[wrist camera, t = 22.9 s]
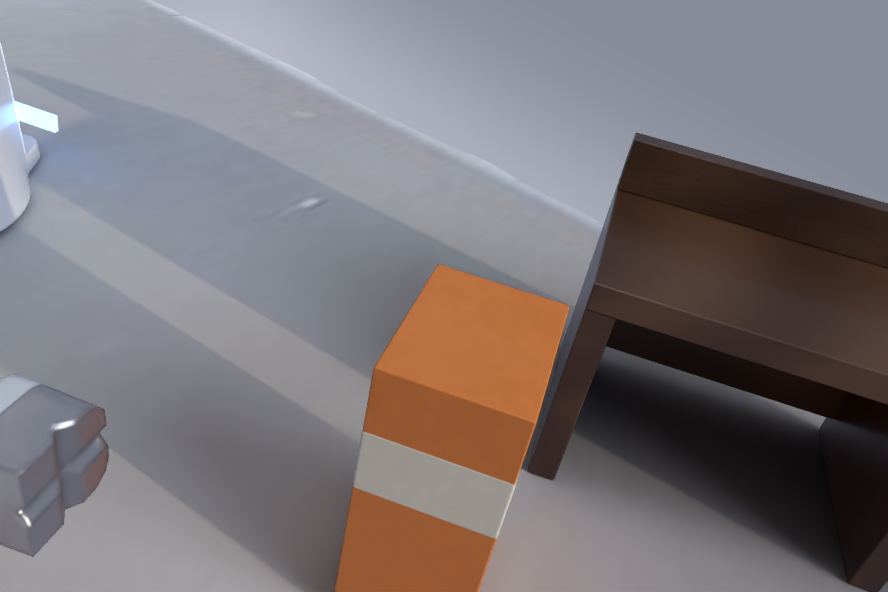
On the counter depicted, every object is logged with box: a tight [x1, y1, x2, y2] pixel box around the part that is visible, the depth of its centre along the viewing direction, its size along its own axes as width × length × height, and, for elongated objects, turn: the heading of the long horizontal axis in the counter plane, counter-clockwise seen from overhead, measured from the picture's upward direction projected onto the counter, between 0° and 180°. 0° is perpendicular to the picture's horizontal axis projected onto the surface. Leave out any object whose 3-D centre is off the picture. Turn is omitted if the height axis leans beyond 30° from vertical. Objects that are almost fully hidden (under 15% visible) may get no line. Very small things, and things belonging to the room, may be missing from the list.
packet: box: [334, 264, 569, 592], centre depth 26 cm, size 4×6×11 cm
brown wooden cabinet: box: [528, 133, 888, 592], centre depth 33 cm, size 15×10×12 cm, turn 74°
